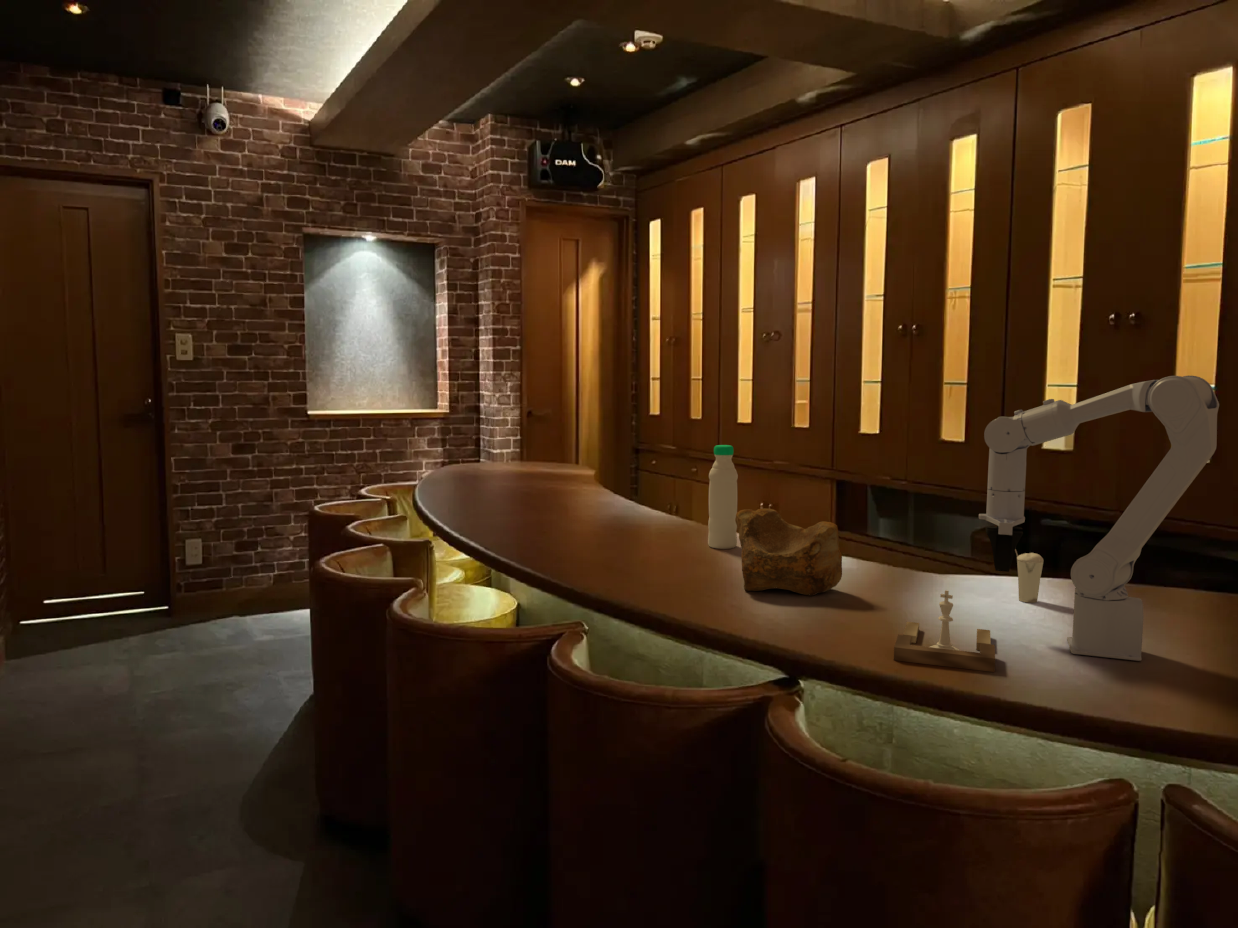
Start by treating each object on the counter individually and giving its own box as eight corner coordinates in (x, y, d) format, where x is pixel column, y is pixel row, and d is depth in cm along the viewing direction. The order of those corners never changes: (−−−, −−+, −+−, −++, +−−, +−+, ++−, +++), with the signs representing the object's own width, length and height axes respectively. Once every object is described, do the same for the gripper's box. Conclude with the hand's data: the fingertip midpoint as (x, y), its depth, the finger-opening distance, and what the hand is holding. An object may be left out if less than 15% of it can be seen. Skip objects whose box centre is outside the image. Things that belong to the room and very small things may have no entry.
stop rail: (993, 657, 136) (994, 644, 136) (994, 672, 130) (995, 658, 129) (897, 646, 141) (898, 634, 141) (893, 660, 135) (894, 647, 135)
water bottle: (741, 545, 222) (743, 445, 219) (729, 550, 216) (730, 447, 213) (715, 542, 225) (717, 443, 223) (702, 547, 219) (704, 445, 217)
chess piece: (933, 647, 141) (936, 585, 140) (965, 653, 138) (968, 590, 137) (922, 655, 137) (924, 591, 136) (955, 661, 134) (958, 596, 133)
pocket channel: (989, 637, 146) (990, 630, 146) (990, 651, 139) (990, 643, 139) (906, 628, 151) (906, 621, 151) (902, 641, 144) (902, 634, 144)
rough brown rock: (702, 590, 180) (702, 518, 177) (747, 569, 193) (747, 502, 190) (805, 615, 165) (806, 536, 162) (847, 590, 178) (849, 517, 175)
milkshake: (1016, 595, 173) (1018, 544, 172) (1045, 600, 169) (1047, 548, 168) (1006, 599, 170) (1009, 548, 169) (1035, 605, 166) (1038, 552, 165)
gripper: (980, 483, 156) (976, 559, 157) (979, 493, 143) (976, 577, 144) (1024, 485, 153) (1020, 563, 155) (1028, 496, 140) (1024, 581, 141)
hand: (1002, 570), depth 149 cm, fingers closed
